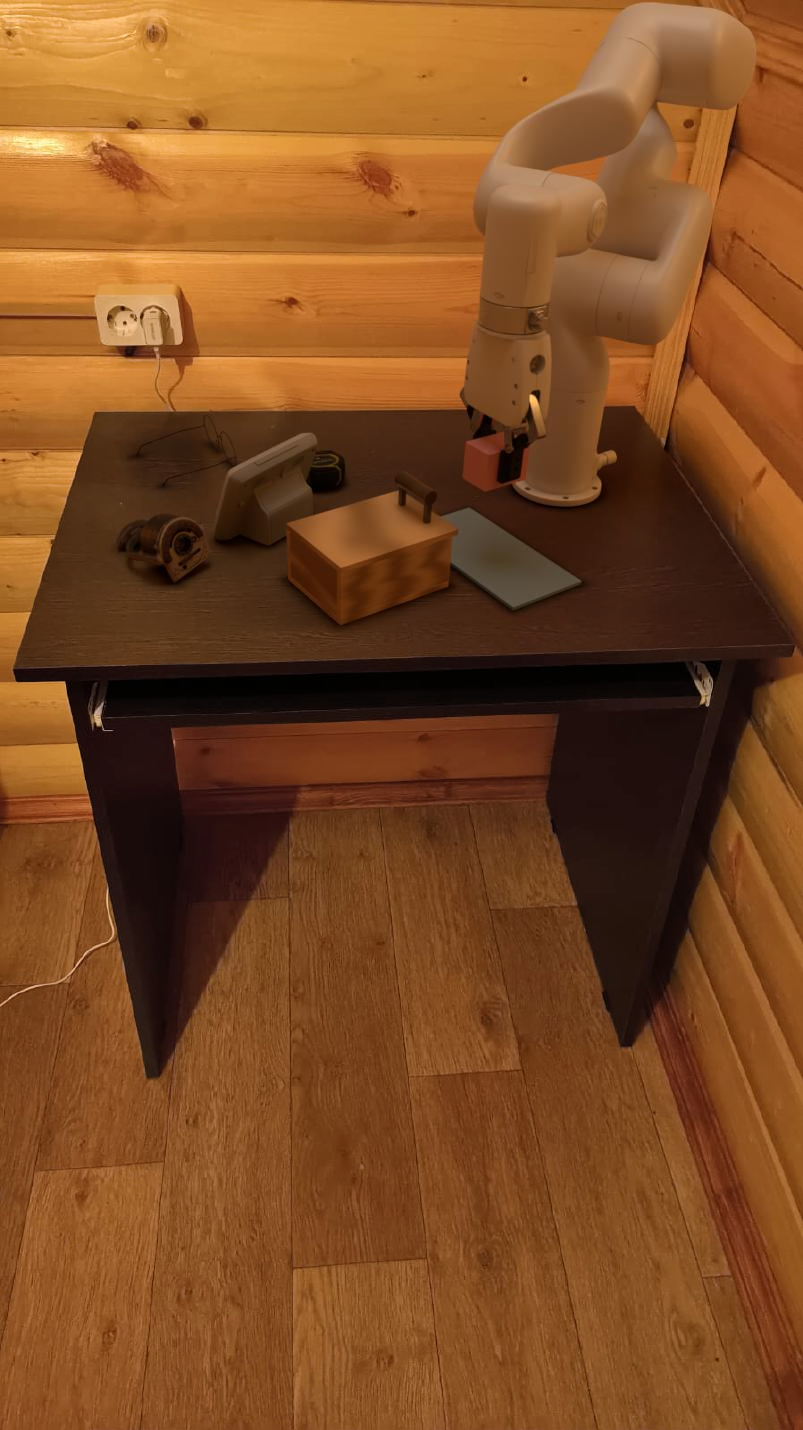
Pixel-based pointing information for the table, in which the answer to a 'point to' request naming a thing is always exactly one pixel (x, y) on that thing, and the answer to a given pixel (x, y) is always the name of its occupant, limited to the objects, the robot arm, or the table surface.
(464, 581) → the table surface
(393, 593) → the pencil box
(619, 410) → the table surface
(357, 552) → the lid
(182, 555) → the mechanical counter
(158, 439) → the eyeglasses
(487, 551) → the mat
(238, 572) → the table surface
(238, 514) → the digital clock
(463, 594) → the table surface
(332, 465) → the tape measure
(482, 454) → the eraser
